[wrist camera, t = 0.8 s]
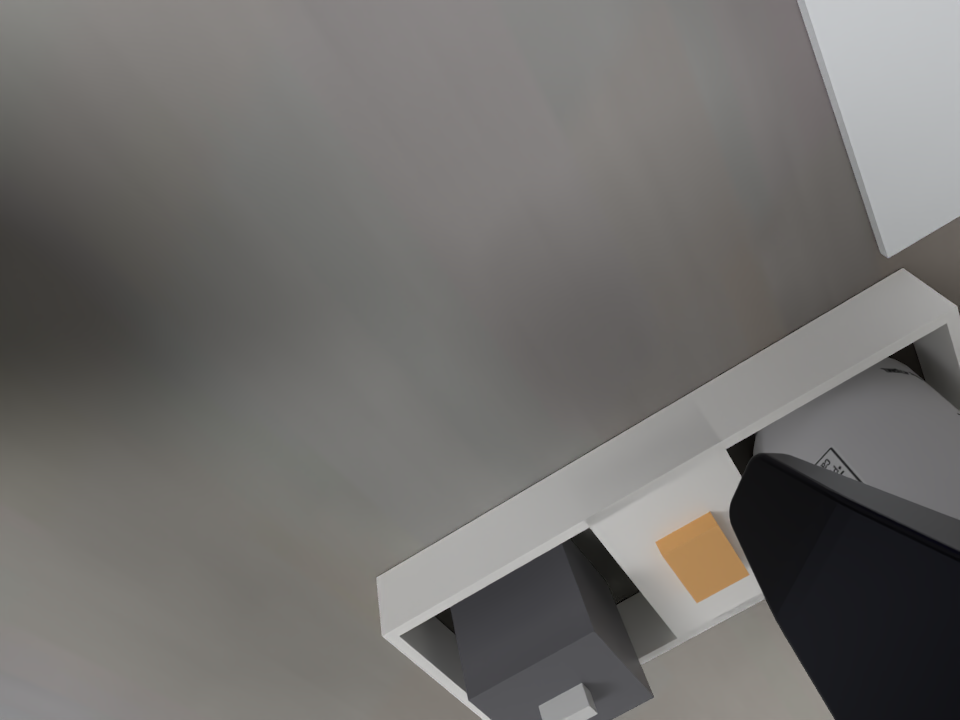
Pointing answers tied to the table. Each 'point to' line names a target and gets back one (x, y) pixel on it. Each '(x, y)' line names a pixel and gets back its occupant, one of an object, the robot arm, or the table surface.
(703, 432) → the dock strip
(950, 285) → the table surface
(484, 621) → the black block
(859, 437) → the energy drink can
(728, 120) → the table surface
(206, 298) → the table surface
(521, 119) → the table surface
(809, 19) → the white square pad
